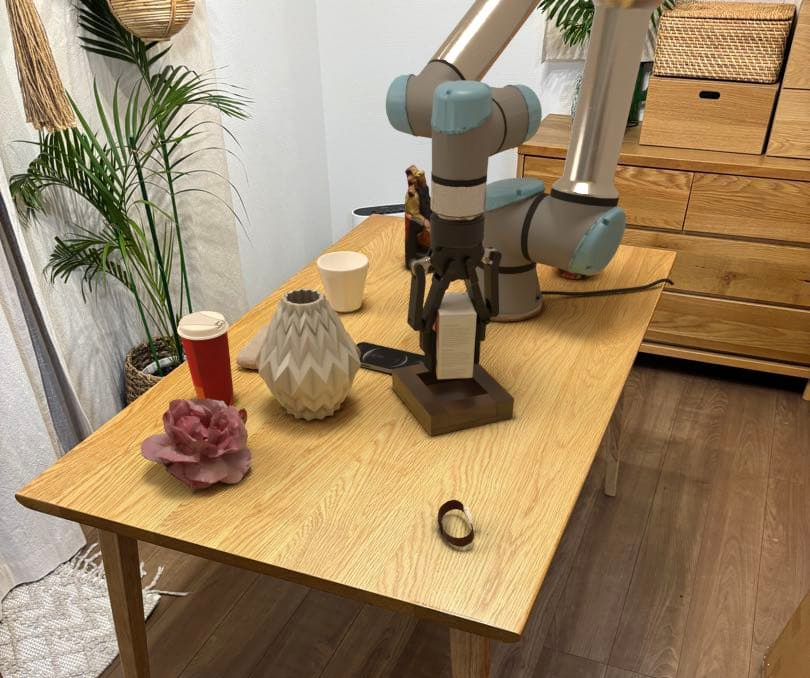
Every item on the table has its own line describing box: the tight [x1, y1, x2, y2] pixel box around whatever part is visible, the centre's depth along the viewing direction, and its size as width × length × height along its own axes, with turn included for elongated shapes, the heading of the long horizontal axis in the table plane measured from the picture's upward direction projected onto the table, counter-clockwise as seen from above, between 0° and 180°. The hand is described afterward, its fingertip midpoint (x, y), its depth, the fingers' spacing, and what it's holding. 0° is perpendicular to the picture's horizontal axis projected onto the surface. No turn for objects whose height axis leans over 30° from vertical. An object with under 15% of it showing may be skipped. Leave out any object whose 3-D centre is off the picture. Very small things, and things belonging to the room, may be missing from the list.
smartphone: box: [355, 341, 424, 374], centre depth 138 cm, size 8×1×15 cm
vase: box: [255, 287, 362, 422], centre depth 121 cm, size 16×16×18 cm
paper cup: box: [176, 310, 235, 407], centre depth 124 cm, size 8×8×14 cm
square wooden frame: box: [391, 363, 515, 437], centre depth 126 cm, size 14×16×4 cm
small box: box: [432, 291, 477, 379], centre depth 120 cm, size 8×6×10 cm
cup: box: [316, 250, 370, 314], centre depth 153 cm, size 10×10×9 cm
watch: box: [437, 499, 477, 548], centre depth 101 cm, size 8×5×4 cm, turn 12°
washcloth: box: [236, 322, 270, 370], centre depth 140 cm, size 12×18×3 cm, turn 164°
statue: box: [404, 164, 434, 273], centre depth 167 cm, size 12×8×20 cm, turn 154°
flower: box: [140, 397, 252, 490], centre depth 111 cm, size 15×15×10 cm
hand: (451, 364), depth 123 cm, fingers closed on small box, 7 cm apart
